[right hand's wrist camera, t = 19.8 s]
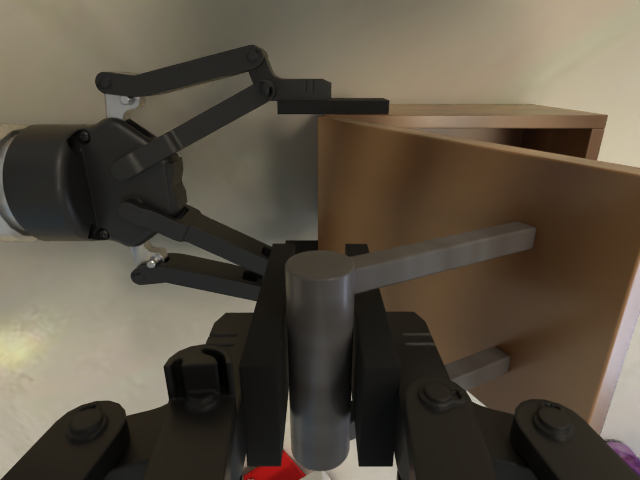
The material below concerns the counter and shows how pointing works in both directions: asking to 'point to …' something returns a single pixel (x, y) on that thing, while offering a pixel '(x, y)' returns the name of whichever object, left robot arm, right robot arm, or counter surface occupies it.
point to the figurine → (626, 455)
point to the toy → (284, 472)
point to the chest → (503, 125)
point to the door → (464, 272)
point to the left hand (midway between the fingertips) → (381, 183)
